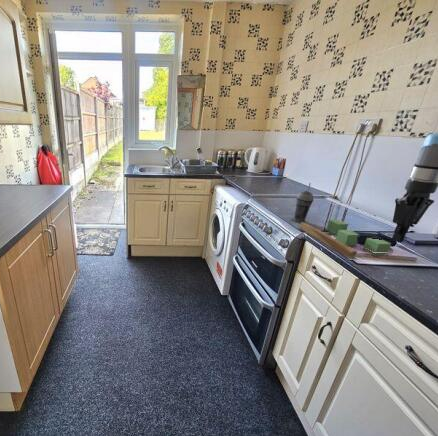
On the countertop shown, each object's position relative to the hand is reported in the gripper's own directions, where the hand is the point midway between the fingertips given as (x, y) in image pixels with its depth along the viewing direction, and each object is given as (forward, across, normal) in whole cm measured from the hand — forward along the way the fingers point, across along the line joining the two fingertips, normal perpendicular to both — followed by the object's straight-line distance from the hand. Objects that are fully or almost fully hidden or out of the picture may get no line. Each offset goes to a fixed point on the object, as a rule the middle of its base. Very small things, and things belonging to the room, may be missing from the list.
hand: (396, 240), depth 94 cm
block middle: (+5, +13, -8) cm, 16 cm away
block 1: (+5, +8, -19) cm, 21 cm away
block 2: (+5, +8, 0) cm, 9 cm away
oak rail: (+5, +21, -10) cm, 23 cm away
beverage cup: (+5, +16, -33) cm, 37 cm away
